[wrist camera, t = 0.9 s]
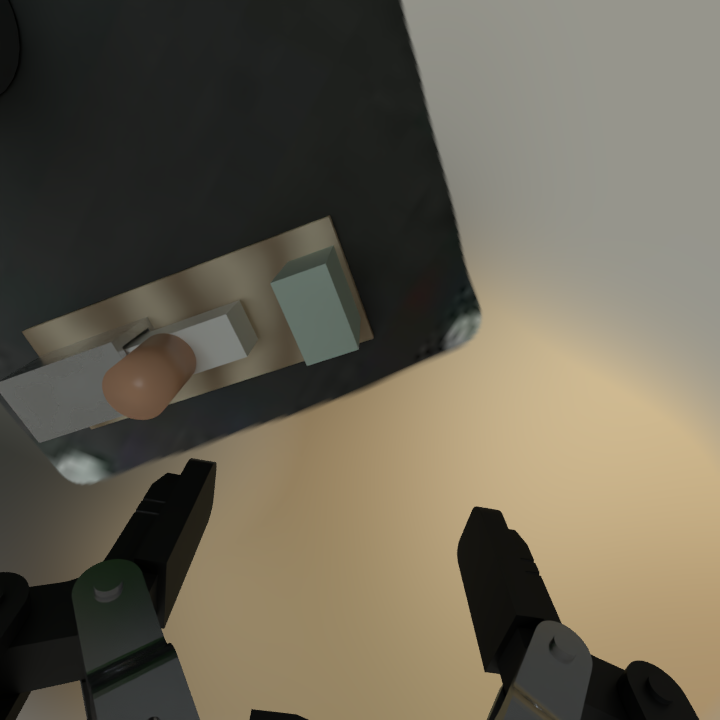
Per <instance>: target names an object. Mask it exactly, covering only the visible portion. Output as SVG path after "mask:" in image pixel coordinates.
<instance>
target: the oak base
mask: <svg viewBox="0 0 720 720" xmlns="http://www.w3.org/2000/svg"><path fill="white" fill-rule="evenodd" d="M333 245H334V248H335V250H336V253H337V256H338V258H339V261H340V264H341V266H342V269H343V272H344V275H345V277H346V280H347V283H348V285H349V288H350V291H351V293H352V296H353V299H354V301H355V304H356V307H357V309H358V312H359V315H360V317H361V321H360V338H359V343H361V342H364V341H367V340H371V339H374V334H373V331H372V329H371V326H370V323H369V320H368V318H367V315H366V312H365V309H364V307H363V304H362V301H361V299H360V296H359V293H358V290H357V288H356V285H355V282H354V279H353V277H352V274H351V271H350V269H349V266H348V263H347V260H346V258H345V255H344V252H343V249H342V247H341V244H340V241H339V238H338V236H337V233H336V230H335V228H334V225H333V222H332V219H331V217H330V215H329V216H326V217H324V218H321V219H318V220H316V221H313V222H310V223H308V224H305V225H302V226H300V227H297V228H294V229H292V230H289V231H286V232H284V233H281V234H278V235H276V236H273V237H270V238H268V239H265V240H262V241H260V242H257V243H254V244H252V245H249V246H246V247H244V248H241V249H238V250H236V251H233V252H230V253H228V254H225V255H222V256H220V257H217V258H214V259H212V260H209V261H206V262H204V263H201V264H198V265H196V266H193V267H190V268H188V269H185V270H182V271H180V272H177V273H174V274H172V275H169V276H166V277H164V278H161V279H158V280H156V281H153V282H150V283H148V284H145V285H142V286H140V287H137V288H134V289H132V290H129V291H126V292H124V293H121V294H118V295H116V296H113V297H110V298H108V299H105V300H102V301H100V302H97V303H94V304H92V305H89V306H86V307H84V308H81V309H78V310H76V311H73V312H70V313H68V314H65V315H62V316H60V317H57V318H54V319H52V320H49V321H46V322H44V323H41V324H38V325H36V326H33V327H30V328H28V329H26V330H24V331H22V333H23V334H24V336H25V337H26V339H27V340H28V341H29V343H30V344H31V346H32V347H33V348H34V350H35V351H36V353H37V354H38V355H39V357H40V356H42V355H44V354H46V353H49V352H52V351H54V350H57V349H60V348H63V347H65V346H68V345H71V344H74V343H76V342H79V341H82V340H85V339H88V338H90V337H93V336H96V335H99V334H101V333H104V332H107V331H110V330H112V329H115V328H118V327H121V326H123V325H126V324H129V323H132V322H135V321H137V320H140V319H143V318H146V317H148V319H149V320H150V322H151V324H152V326H153V327H154V329H155V330H156V329H159V328H162V327H165V326H167V325H170V324H173V323H176V322H179V321H181V320H184V319H187V318H190V317H193V316H196V315H198V314H201V313H204V312H207V311H210V310H212V309H215V308H218V307H221V306H224V305H227V304H229V303H232V302H235V301H238V300H240V302H241V304H242V307H243V309H244V311H245V313H246V315H247V317H248V319H249V321H250V323H251V325H252V327H253V329H254V331H255V333H256V336H257V338H258V341H257V342H256V344H255V345H254V347H253V349H252V350H251V352H250V353H249V355H248V356H247V357H245V358H242V359H239V360H236V361H233V362H230V363H227V364H224V365H221V366H218V367H215V368H212V369H209V370H206V371H203V372H200V373H197V374H194V375H192V376H191V378H190V379H189V380H188V381H187V382H186V384H185V385H184V386H183V387H182V389H181V390H180V391H179V392H178V393H177V395H176V396H175V397H174V398H173V399H172V401H171V402H170V403H169V404H172V403H175V402H178V401H181V400H184V399H188V398H191V397H194V396H197V395H200V394H203V393H206V392H209V391H212V390H216V389H219V388H222V387H225V386H228V385H231V384H234V383H237V382H240V381H243V380H247V379H250V378H253V377H256V376H259V375H262V374H265V373H268V372H271V371H274V370H278V369H281V368H284V367H287V366H290V365H293V364H296V363H299V362H302V361H305V360H304V358H303V356H302V354H301V351H300V349H299V347H298V345H297V342H296V340H295V338H294V336H293V333H292V331H291V329H290V327H289V324H288V322H287V320H286V318H285V316H284V313H283V311H282V309H281V307H280V304H279V302H278V300H277V298H276V295H275V293H274V291H273V289H272V286H271V284H270V283H271V282H272V280H273V279H274V278H275V277H276V276H277V274H278V273H279V272H280V271H281V269H282V268H283V267H284V266H285V265H286V263H287V262H289V261H291V260H294V259H297V258H300V257H302V256H305V255H308V254H311V253H313V252H316V251H319V250H322V249H324V248H327V247H330V246H333ZM169 404H168V405H169ZM126 418H129V417H126V416H121V417H118V418H115V419H112V420H109V421H105V422H102V423H99V424H96V425H93V426H90V428H91V429H95V428H98V427H101V426H104V425H107V424H110V423H113V422H116V421H119V420H122V419H126Z"/></svg>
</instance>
